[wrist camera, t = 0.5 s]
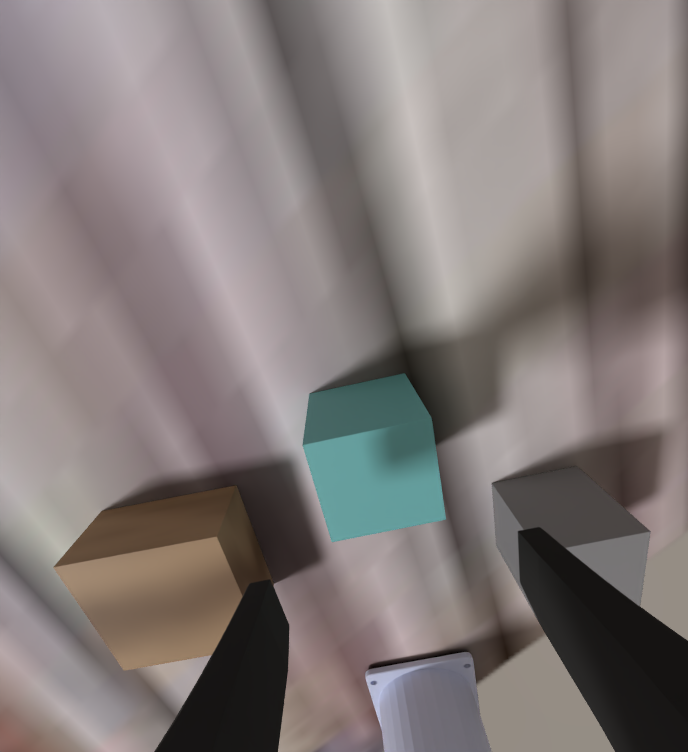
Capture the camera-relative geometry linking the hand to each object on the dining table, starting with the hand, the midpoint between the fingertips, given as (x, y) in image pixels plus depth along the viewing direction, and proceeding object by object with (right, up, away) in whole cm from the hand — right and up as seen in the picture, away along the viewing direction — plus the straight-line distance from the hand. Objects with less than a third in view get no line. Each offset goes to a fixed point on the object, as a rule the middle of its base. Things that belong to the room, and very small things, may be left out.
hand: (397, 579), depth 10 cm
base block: (-11, -5, +11) cm, 16 cm away
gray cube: (+10, -2, +11) cm, 15 cm away
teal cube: (0, +3, +9) cm, 9 cm away
